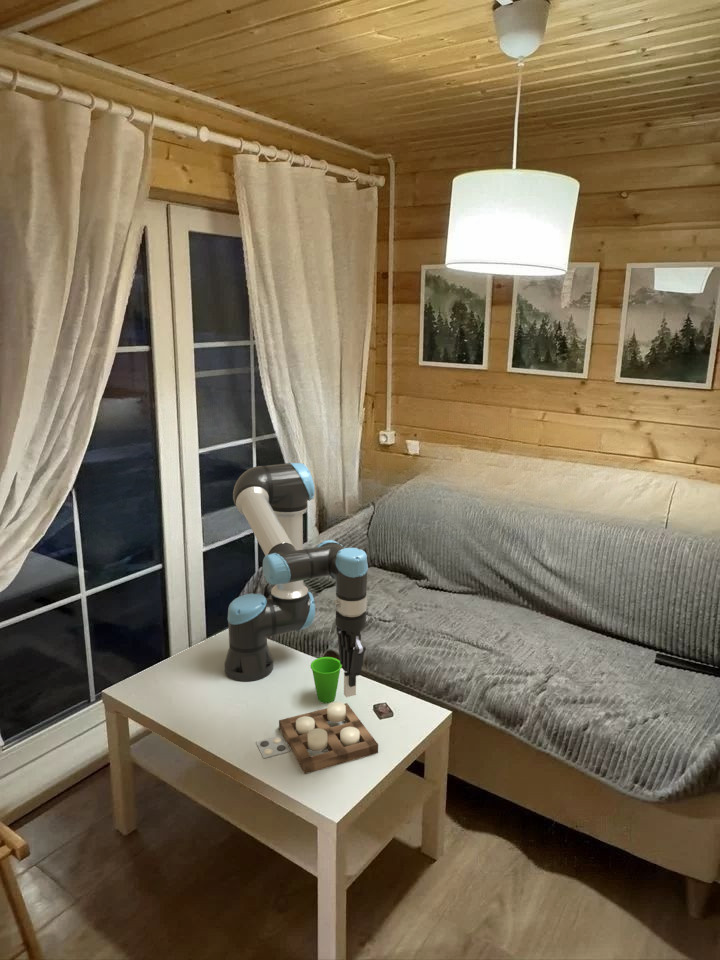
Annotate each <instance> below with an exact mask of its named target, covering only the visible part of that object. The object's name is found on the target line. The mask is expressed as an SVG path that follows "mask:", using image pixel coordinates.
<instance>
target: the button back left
mask: <svg viewBox="0 0 720 960" xmlns="http://www.w3.org/2000/svg"><path fill="white" fill-rule="evenodd" d="M326 708H327V718H328V720H329V721H328V722H331V723H341V722H343V721H344V720H345V718H346V706H345V703H343V702H340V701H333V702H331V703H328V704H327V707H326Z"/></svg>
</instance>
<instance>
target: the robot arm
mask: <svg viewBox="0 0 720 960" xmlns="http://www.w3.org/2000/svg"><path fill="white" fill-rule="evenodd" d="M314 496H315V483H314V479H313V476H312V474H311V472H310V470H309V468H308V467H307V465H305V464H304V463H301V462H288V463H278V464H271V465H270V464H269V465H259V466H253V467H251V468H249V469H247V470H245V471H244V472H243V473H242V474H240V476H239V477H238V478H237V480H236V482H235V485H234V487H233V492H232V500H233V503H234V505H235V507H236V509H237V511H238V512H239V513H240V514H241V515H243V516H244V517H245V519H246V521H247V523H248V524H249V527H250V529H251V530H252V532H253V534H254V536H255V538H256V541H257V542H258V544H259V546H260V548H261V550H262V552H263V553H264V557H263V560H262V571H263V572H262V573H263V575H264V579H265V582H267V583H268V585H274V586H273V587H272V588H271V590H270V597H266V596H265V595H263V594H261V593H245V594H242V595H240V596H238V597H236V598H234V599H233V600H232V601H231V602H230V603H229V605H228V609H227V623H228V624H227V625H228V627H227V628H228V643H229V644H228V645H229V646H228V649H227V650H228V651H227V654H226V657H225V660H224V666H223V667H224V674H225V675H226V676H227V677H228V678H229V679H232V680H234V681H240V682H251V681H252V682H253V681H258V680H261V679H263V678H265V677H267V676H268V675H270V674H271V673H272V671H273V670H274V658H273V656H272V654H271V653H272V652H271V650H270V648H269V646H268V637H272V636H276V635H283V634H287V633H293V632H299V631H301V630H305V629H308V628H309V627H310V626H312V625H313V623H314V620H315V617H316V616H315V615H316V604H315V598H314V595H313V593H312V592H311V591H309V588H308V587H307V586H306V585H305V584H304V581H305V580H306V581H307V580H311V579H312V580H313V579H317V578H318V579H319V578H324V577H329V576H330V577H332V579H333V580H334V581H335V601H334V605H335V610H336V611H335V626H336V627H335V628H336V634H337V642H338V653H339V661H340V664H341V665H342V670H343V671H344V672H343V696H344V697H345V698H350V697H354V696H356V695H357V677H358V676H361V675H362V674H361V673H362V667H363V661H364V655H365V652H366V650H367V648H366V646H365V645H362V643H361V641H362V635H361V631H362V630H363V629H364V628H365V627H366V625H367V604H368V603H367V602H368V601H367V600H368V597H367V596H368V594H367V590H368V589H367V588H368V570H369V565H368V554H367V553H366V551H364V550H363V549H359V548H358V547H345V546H344V545H343V544H341V543H339V542H337V541H336V540H334V539H333V540H332V539H326V540H323V541H322V542H321V543H319V544H317V547H311V548H304V540H303V539H304V538H303V537H304V533H303V531H304V528H303V522H304V520H303V514H304V512H306V510H307V509H308V501H312V500H313V499H314V498H315V497H314Z"/></svg>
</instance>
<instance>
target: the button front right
mask: <svg viewBox="0 0 720 960" xmlns="http://www.w3.org/2000/svg"><path fill="white" fill-rule="evenodd" d="M326 747H327V732H326V731H325V730H323V729H319V728H316V729H312V730H310V731H309V732H308V748H309V749H308V750H311V751H313V752H320V751H324V750H325V749H326Z"/></svg>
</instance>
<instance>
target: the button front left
mask: <svg viewBox="0 0 720 960" xmlns="http://www.w3.org/2000/svg"><path fill="white" fill-rule="evenodd" d="M359 739H360V732H359V730H358V729H357V728H355V727H345V728H343V729H342V730H341V732H340V742H341V744H342V745H343V747H346V746H350V745H354V744H357V743H360V742H359Z"/></svg>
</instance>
